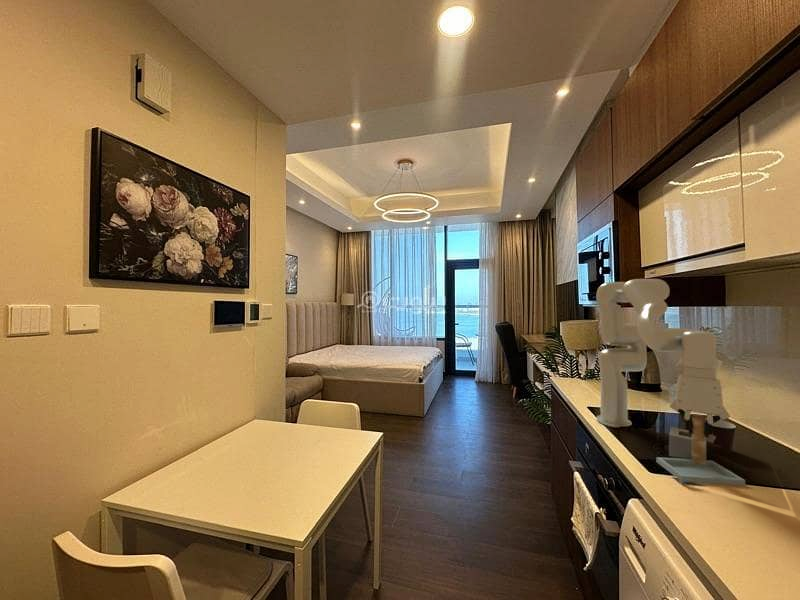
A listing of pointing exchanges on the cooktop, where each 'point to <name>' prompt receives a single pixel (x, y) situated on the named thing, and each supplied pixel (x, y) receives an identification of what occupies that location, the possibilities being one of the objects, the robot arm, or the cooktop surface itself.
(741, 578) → the cooktop surface
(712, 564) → the cooktop surface
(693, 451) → the brown upright block
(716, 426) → the coffee mug
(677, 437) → the grey notched box
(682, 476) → the slate tray
